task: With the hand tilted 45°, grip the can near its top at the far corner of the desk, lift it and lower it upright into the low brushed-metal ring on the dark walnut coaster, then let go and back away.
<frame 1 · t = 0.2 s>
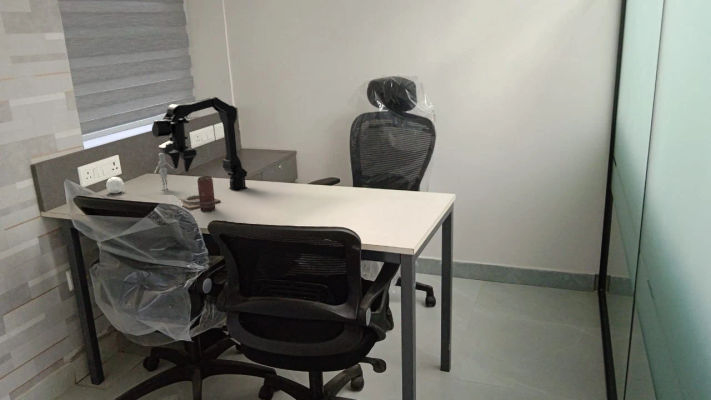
hand: (181, 170, 244), 14 cm above the table, tool pointing down, fingers open, 9 cm apart
human figurine: (165, 190, 267), on the table
can: (208, 210, 236), on the table
geometric ball: (116, 193, 265), on the table
cup holder: (196, 202, 247), on the table
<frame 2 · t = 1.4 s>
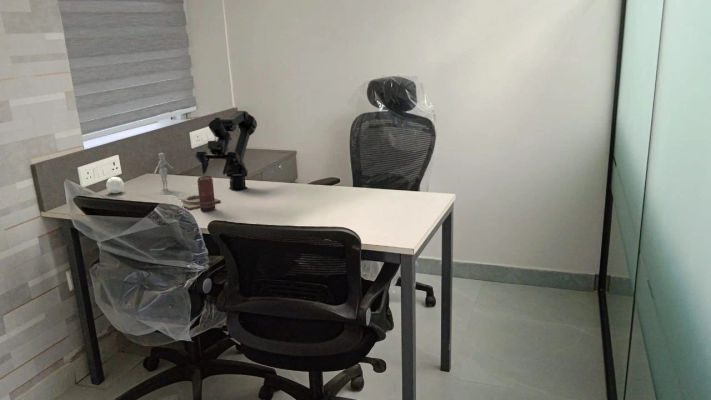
hand: (213, 173, 240), 14 cm above the table, tool tilted 45°, fingers open, 9 cm apart
nothing on the table moved.
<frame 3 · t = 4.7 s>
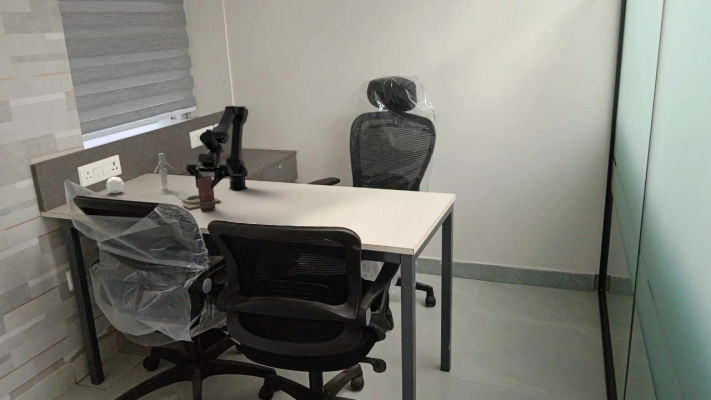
hand: (204, 187, 232), 10 cm above the table, tool tilted 45°, fingers closed on can, 6 cm apart
can: (208, 210, 236), on the table, touching gripper
everything else where it was.
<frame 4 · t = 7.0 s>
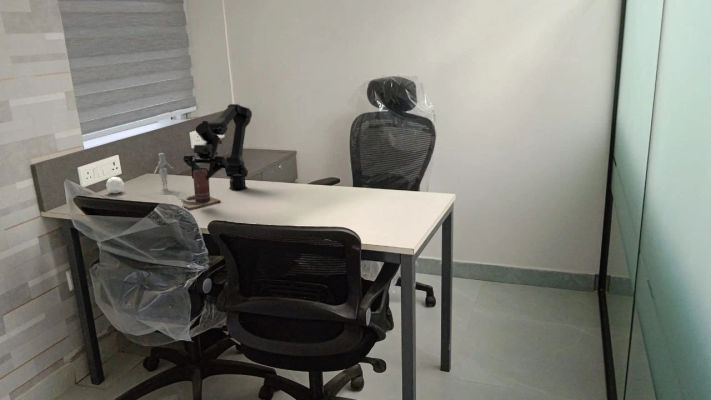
hand: (199, 178, 233), 13 cm above the table, tool tilted 45°, fingers closed on can, 6 cm apart
can: (203, 201, 238), point 3 cm above the table, touching gripper
everything else where it was.
when the fingers open (12 cm above the table, at t = 9.1 s): can stays where it is, resting on cup holder.
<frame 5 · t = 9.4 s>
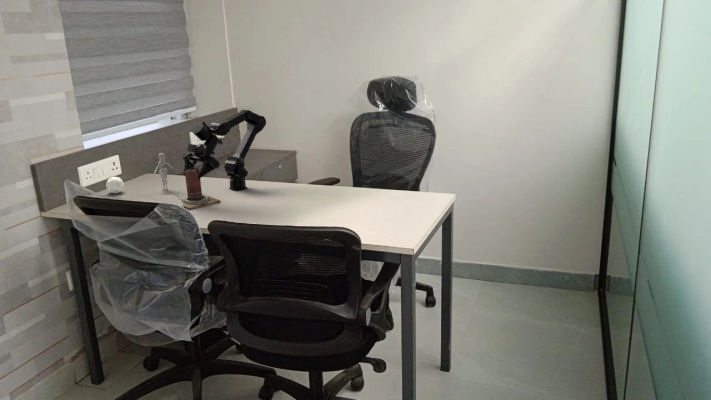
hand: (191, 176, 242), 12 cm above the table, tool tilted 45°, fingers open, 9 cm apart
can: (195, 200, 247), point 1 cm above the table, touching cup holder
everything else where it was.
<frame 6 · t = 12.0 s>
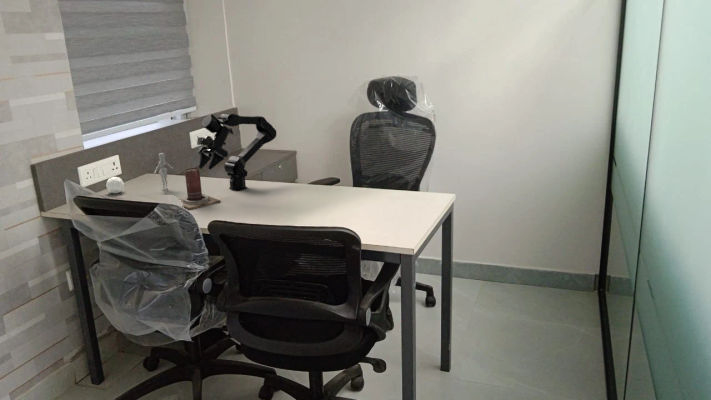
hand: (204, 168, 250), 13 cm above the table, tool tilted 40°, fingers open, 9 cm apart
nothing on the table moved.
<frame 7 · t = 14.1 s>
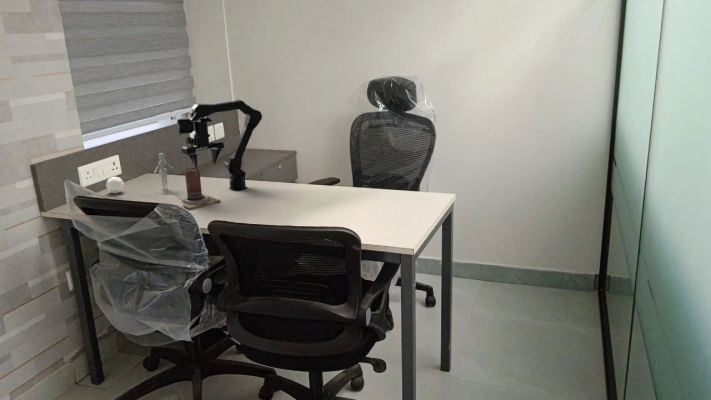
hand: (205, 166, 257), 13 cm above the table, tool pointing down, fingers open, 9 cm apart
nothing on the table moved.
at the end: can 0.7 cm off-centre on the cup holder, point 0.6 cm above the cup holder's base; can tilted 0°; the gripper is holding nothing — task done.
